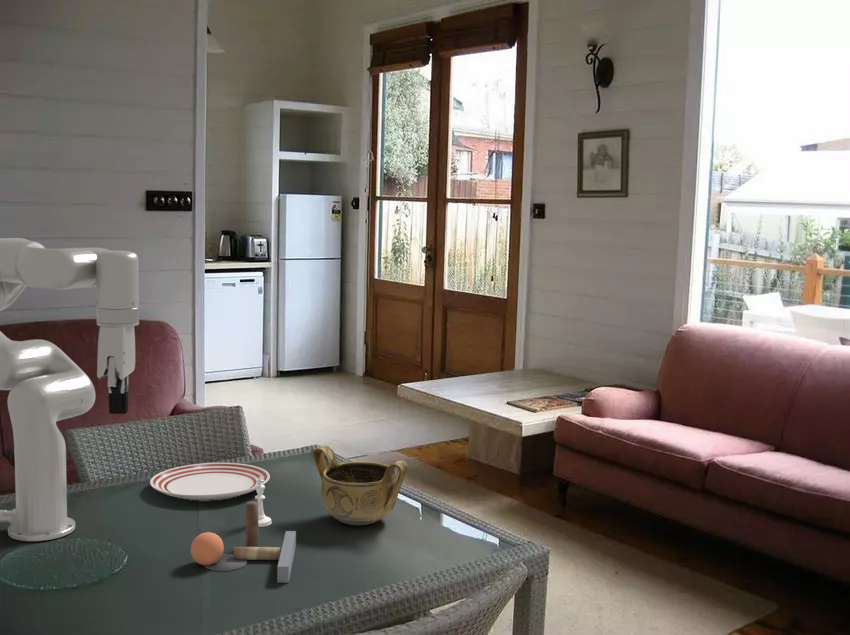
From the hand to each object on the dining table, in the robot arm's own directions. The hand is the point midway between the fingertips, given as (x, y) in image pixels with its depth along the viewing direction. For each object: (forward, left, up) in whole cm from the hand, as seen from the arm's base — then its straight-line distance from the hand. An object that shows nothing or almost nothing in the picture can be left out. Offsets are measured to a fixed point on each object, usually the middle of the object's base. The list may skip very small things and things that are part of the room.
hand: (118, 412), depth 176 cm
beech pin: (+22, -4, -26) cm, 35 cm away
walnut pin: (+25, +2, -27) cm, 37 cm away
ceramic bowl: (+46, +18, -27) cm, 56 cm away
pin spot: (+21, -6, -27) cm, 35 cm away
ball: (+18, -7, -24) cm, 31 cm away
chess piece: (+25, +16, -27) cm, 40 cm away
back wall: (+32, -6, -27) cm, 43 cm away
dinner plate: (+11, +39, -28) cm, 49 cm away
